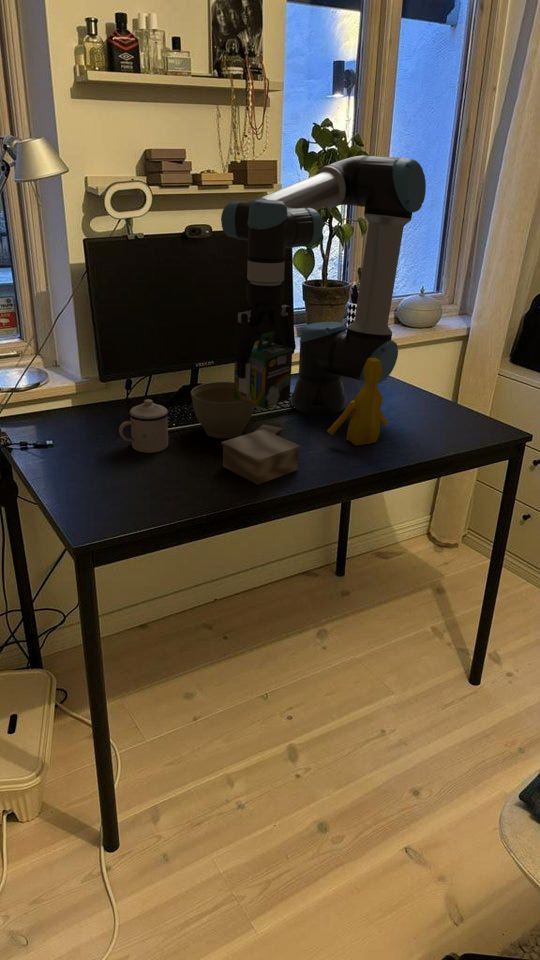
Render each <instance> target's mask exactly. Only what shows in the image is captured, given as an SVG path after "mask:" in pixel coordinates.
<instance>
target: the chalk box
mask: <svg viewBox="0 0 540 960" xmlns="http://www.w3.org/2000/svg"><path fill="white" fill-rule="evenodd" d="M273 337H274V331H273V332H271V331H270V332H266V333H262V334H261V335H260V336H259V340H256V342H255V344H254V347H253V349H252V351H251V354H250V356H249V359H248V361H247V362H248V363H250V393H249V394H246V393H243V392H241V391H239V377H237V362H235V361H234V370H233V371H234V375H233V377H234V378H233V379H234V398H235V399H238V400H241V401H245V402H248V403H251V404H254V405H255V406H257V407H260V408H263V409H266V408H269V407H271V406H274V405H277V404H279V403H281V402H285V401H287V400H291V380H292V365H293V364H292V363H293V351H294V350H293V348H290V347H286V346H282V345H279V344H275V342H274V339H273ZM267 338H269V339H268V341H267V340H265V339H267ZM242 357H243V356H242Z"/></svg>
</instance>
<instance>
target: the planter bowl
mask: <svg viewBox="0 0 540 960" xmlns="http://www.w3.org/2000/svg"><path fill="white" fill-rule="evenodd" d="M190 396H191V399H192V401H191V402H192V407H193V411H194V414H195V416H196V418H197V420H198V422H199V423H200V425H201V426H202V427H203V429H204V432H205V434H206V435H207V436H209V437H212V438H215V439H233V438H236V437H239V436H242V435H243V433H244V432H243V431H244V428H245V427H246V426H247V425H248V424H249V421H250V420H251V418H252V415H253V414H254V409H255V406H256V405H254V404H251V403H248V402H245V401H241V400H238V399H235V398H234V382H233V381H212V382H206V383H203V384H200V385H197V386H195V387H193V388H192V389H191V391H190Z"/></svg>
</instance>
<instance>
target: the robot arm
mask: <svg viewBox="0 0 540 960" xmlns="http://www.w3.org/2000/svg"><path fill="white" fill-rule="evenodd" d="M424 172H425V171H424V168H423V167H422V165H421V164H420V163H419V162H418V161H417V160H415V159H413V158H405V157H402V156H397V157H396V156H395V157H394V156H374V155H373V156H372V155H357V156H356V155H355V156H351V157H347V158H343V159H341V160H338V161H335V162H333V163H330V164H328V165H327V164H326V165H325V166H322V167H320V168H319V169H318V170H317V171H316V172H315V173H314V175H312V176H310V177H308V178H304V179H302V180H299V181H298V182H296V183H292V184H290V185H288V186H285V187H283V188H281V189H278V190H275V191H273V192H271V193H268V194H266V195H264V196H261V197H258V198H256V199H253V200H250V201H247V202H242V201H230V202H229V203H227V204H226V205H225V206H224V208H223V209H222V211H221V218H220V221H221V229H222V231H223V233H224V234H225V236H228V237H230V238H234V239H237V240H238V241H239V240H240V241H241V240H243V241H247V266H246V267H247V271H246V272H247V275H246V278H247V280H248V282H247V284H246V300H247V302H248V308H247V309H246V311H243V312H241V311H237V312H236V313H235V314H234V315H235V327H234V330H233V336H232V341H231V346H230V349H229V350H230V351H229V355H228V359H229V361H232V362H234V363H235V362H237V377H239V391H241V392H243V393H246V394H249V393H250V363H248V362H247V361H248V359H249V356H250V354H251V351H252V349H253V347H254V344H255V342H256V341H257V339H258V337H259V335H260V334H261V333H262V331H263V330H265V329H267V328H268V329H269V331H270V332H273V331H274V337H273V342H274V343H275V344H279V345H282V346H286V347H290V348H293V351H295V350H296V347H297V345H296V339H295V333H294V324H293V318H292V316H293V306H292V305H287V304H284V303H282V302H284V290H285V285H284V284H283V282H284V281H285V267H286V266H285V263H286V250H287V249H291V248H293V249H294V248H302V247H303V248H304V247H308V246H310V245H314V244H315V243H317V242H318V241H319V240H320V238H321V237H322V235H323V231H324V221H323V218H322V216H321V214H320V213H319V212H318V211H319V210H321V209H323V208H329V209H334V208H337V207H339V206H355V207H362V208H363V207H364V212H363V216H364V217H365V218H366V221H367V223H368V225H367V233H366V239H365V245H364V246H365V247H364V254H363V259H362V260H363V261H362V267H361V273H360V280H359V288H358V294H357V302H356V308H355V314H354V319H353V321H352V322H351V323H350V324H349V325H348V326H347V327H345V324H344V323H342V322H339V321H321V322H314V323H313V322H312V323H309V324H306V325H305V326H303V327H302V329H301V331H300V340H299V359H298V360H299V362H298V377H297V381H296V383H295V387H294V390H293V393H292V394H291V395H290V405H291V404H292V405H293V406H294V407H295V408H296V411H298V412H301V413H304V414H309V415H315V416H327V415H334V414H338V413H340V412H343V411H345V409H346V408H345V407H346V397H345V395H344V393H343V392H344V391H343V390H344V389H343V386H342V381H341V379H342V377H345V378H348V379H352V380H356V381H360V382H362V383H364V384H365V378H364V373H363V370H364V366H365V364H366V361H367V359H368V358H374V357H375V358H377V359H378V360H380V361H381V365H382V374H381V377H380V379H379V381H378V383H377V385H378V384H381V383H383V382H385V381H386V380H387V378H389V376H390V375H391V374H392V372H393V370H394V368H395V366H396V364H397V363H396V362H397V361H398V355H399V348H398V347H399V346H398V344H397V343H396V342H395V341H394V340H392V337H393V330H391V328H390V327H389V319H390V315H391V313H390V312H391V307H392V303H393V302H392V300H393V295H394V288H395V282H396V277H397V270H398V263H399V259H400V252H401V247H402V246H401V245H402V240H403V232H404V227H405V226H406V225H407V224H409V223H410V222H411V221H412V217H413V214H414V213H416V212H419V210H420V209H421V208H422V207H423V206H422V205H423V204H424V201H425V198H426V192H427V191H426V189H427V185H426V183H427V182H426V175H425V173H424ZM346 328H347V329H346ZM242 356H243V357H242Z"/></svg>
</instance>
